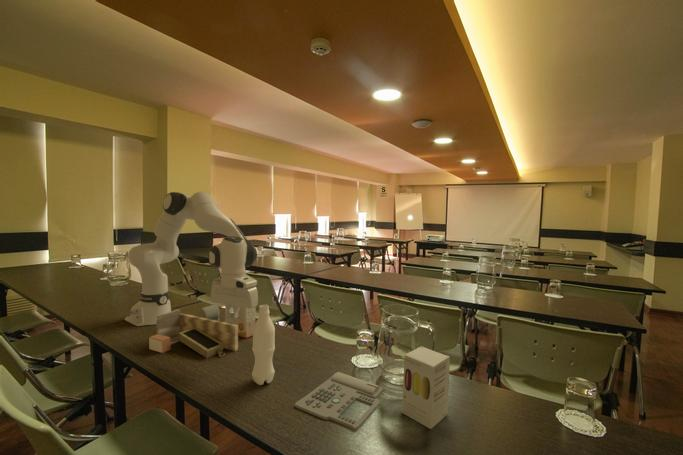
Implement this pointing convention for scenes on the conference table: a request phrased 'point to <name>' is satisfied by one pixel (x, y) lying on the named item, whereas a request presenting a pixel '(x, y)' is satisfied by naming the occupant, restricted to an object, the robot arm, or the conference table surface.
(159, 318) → the shelf
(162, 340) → the orange brown block
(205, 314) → the ceramic mug
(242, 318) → the cracker box
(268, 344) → the water bottle
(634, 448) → the conference table surface
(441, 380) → the supplement box
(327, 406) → the office telephone
